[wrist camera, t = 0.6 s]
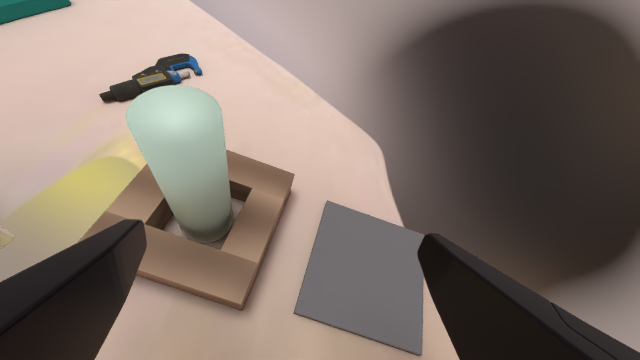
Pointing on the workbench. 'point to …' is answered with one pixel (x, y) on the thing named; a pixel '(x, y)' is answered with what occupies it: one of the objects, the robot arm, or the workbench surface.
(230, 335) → the workbench surface
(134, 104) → the pin
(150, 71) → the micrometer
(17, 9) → the digital multimeter
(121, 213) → the socket block
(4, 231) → the ink box
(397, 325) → the mat
